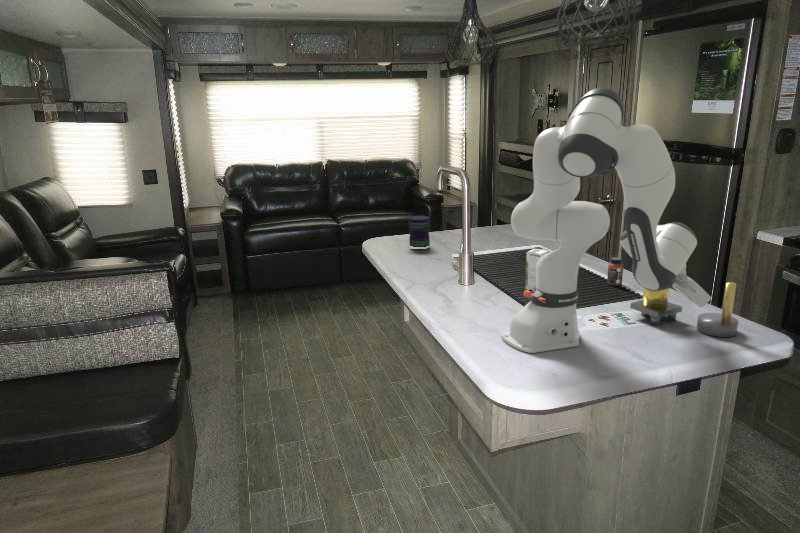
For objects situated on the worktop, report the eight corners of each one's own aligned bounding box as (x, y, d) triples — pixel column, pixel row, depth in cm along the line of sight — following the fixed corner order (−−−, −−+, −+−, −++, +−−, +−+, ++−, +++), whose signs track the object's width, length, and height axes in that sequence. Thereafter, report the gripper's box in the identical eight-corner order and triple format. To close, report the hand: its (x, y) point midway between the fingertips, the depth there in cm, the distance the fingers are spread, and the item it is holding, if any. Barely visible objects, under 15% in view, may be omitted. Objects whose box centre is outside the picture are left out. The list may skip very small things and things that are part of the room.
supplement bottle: (622, 286, 195) (624, 260, 193) (607, 285, 197) (608, 259, 195) (621, 282, 200) (623, 257, 197) (607, 281, 202) (608, 256, 199)
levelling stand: (657, 327, 159) (662, 275, 154) (629, 316, 167) (633, 267, 163) (680, 321, 163) (686, 270, 158) (652, 311, 172) (657, 262, 167)
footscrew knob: (721, 339, 148) (728, 286, 144) (688, 327, 157) (694, 277, 153) (744, 332, 153) (752, 280, 148) (711, 320, 161) (718, 271, 157)
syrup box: (531, 286, 200) (533, 247, 196) (546, 288, 196) (548, 250, 192) (524, 290, 196) (525, 251, 192) (539, 293, 192) (541, 253, 188)
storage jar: (410, 245, 268) (409, 215, 264) (430, 245, 266) (430, 215, 262) (408, 250, 258) (407, 219, 254) (428, 250, 257) (428, 219, 253)
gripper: (695, 272, 135) (730, 308, 137) (661, 252, 155) (693, 283, 157) (674, 289, 136) (710, 325, 138) (644, 267, 156) (675, 298, 158)
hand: (701, 303), depth 148 cm, fingers closed
